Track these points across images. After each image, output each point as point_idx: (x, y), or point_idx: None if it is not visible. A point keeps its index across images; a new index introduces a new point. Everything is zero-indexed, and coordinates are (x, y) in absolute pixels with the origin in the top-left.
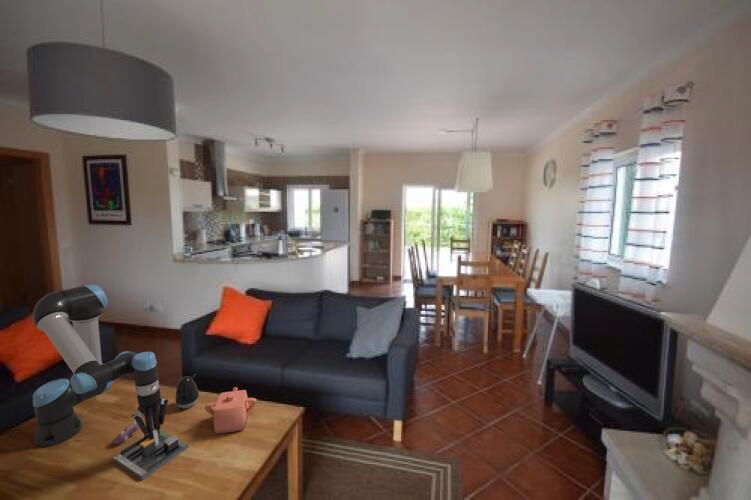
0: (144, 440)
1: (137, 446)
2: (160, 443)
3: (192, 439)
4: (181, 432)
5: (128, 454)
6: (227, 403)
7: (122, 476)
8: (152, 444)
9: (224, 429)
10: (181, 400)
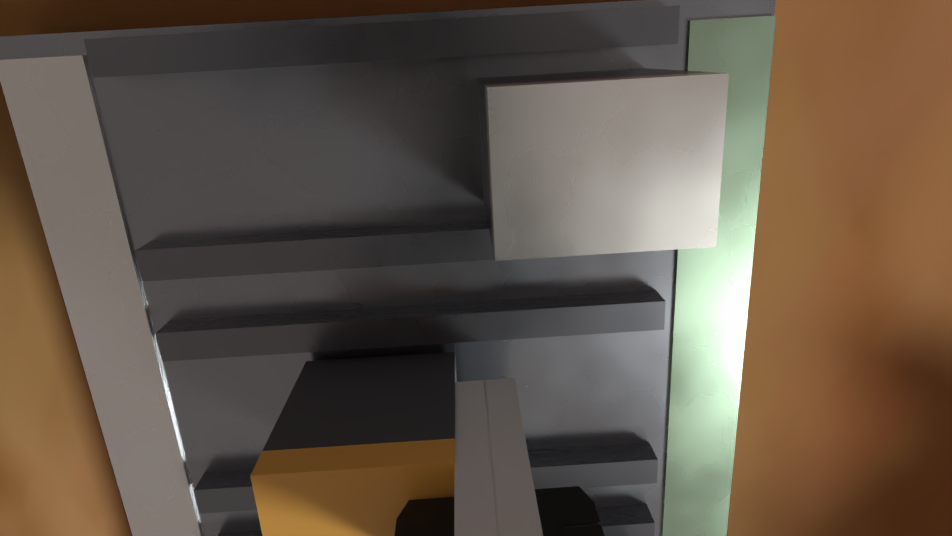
0: (337, 472)
1: (344, 125)
2: (565, 361)
3: (810, 529)
4: (861, 304)
5: (187, 192)
6: None
7: (62, 438)
8: None
9: None
10: None
